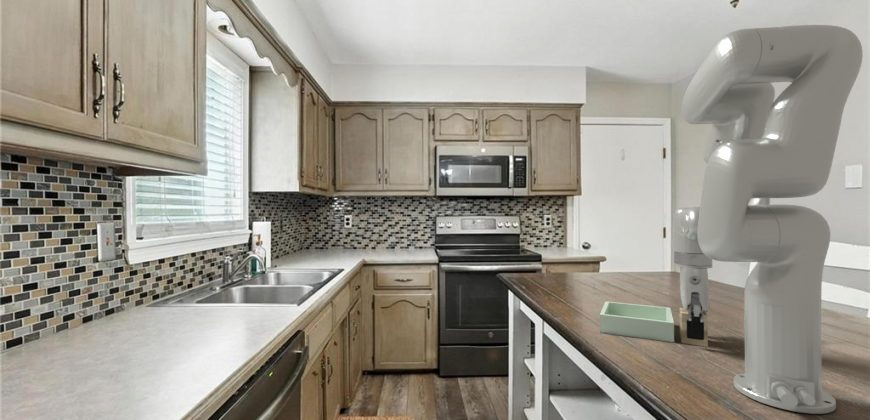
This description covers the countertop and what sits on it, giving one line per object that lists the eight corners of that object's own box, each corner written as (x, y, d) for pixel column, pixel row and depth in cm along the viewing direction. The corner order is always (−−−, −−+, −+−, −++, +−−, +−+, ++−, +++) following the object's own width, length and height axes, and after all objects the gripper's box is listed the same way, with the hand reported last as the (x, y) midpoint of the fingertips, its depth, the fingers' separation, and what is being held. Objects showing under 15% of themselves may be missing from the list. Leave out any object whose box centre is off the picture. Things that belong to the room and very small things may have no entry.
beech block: (707, 346, 88) (707, 315, 88) (681, 343, 90) (681, 312, 90) (704, 339, 92) (704, 310, 92) (679, 336, 95) (679, 308, 95)
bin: (674, 342, 91) (674, 323, 91) (599, 332, 98) (599, 314, 98) (670, 324, 105) (670, 307, 105) (605, 316, 112) (605, 301, 112)
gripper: (718, 265, 82) (718, 347, 82) (707, 256, 97) (707, 325, 97) (676, 263, 86) (676, 341, 86) (671, 255, 101) (672, 321, 101)
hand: (692, 332), depth 91 cm, fingers open, 9 cm apart
